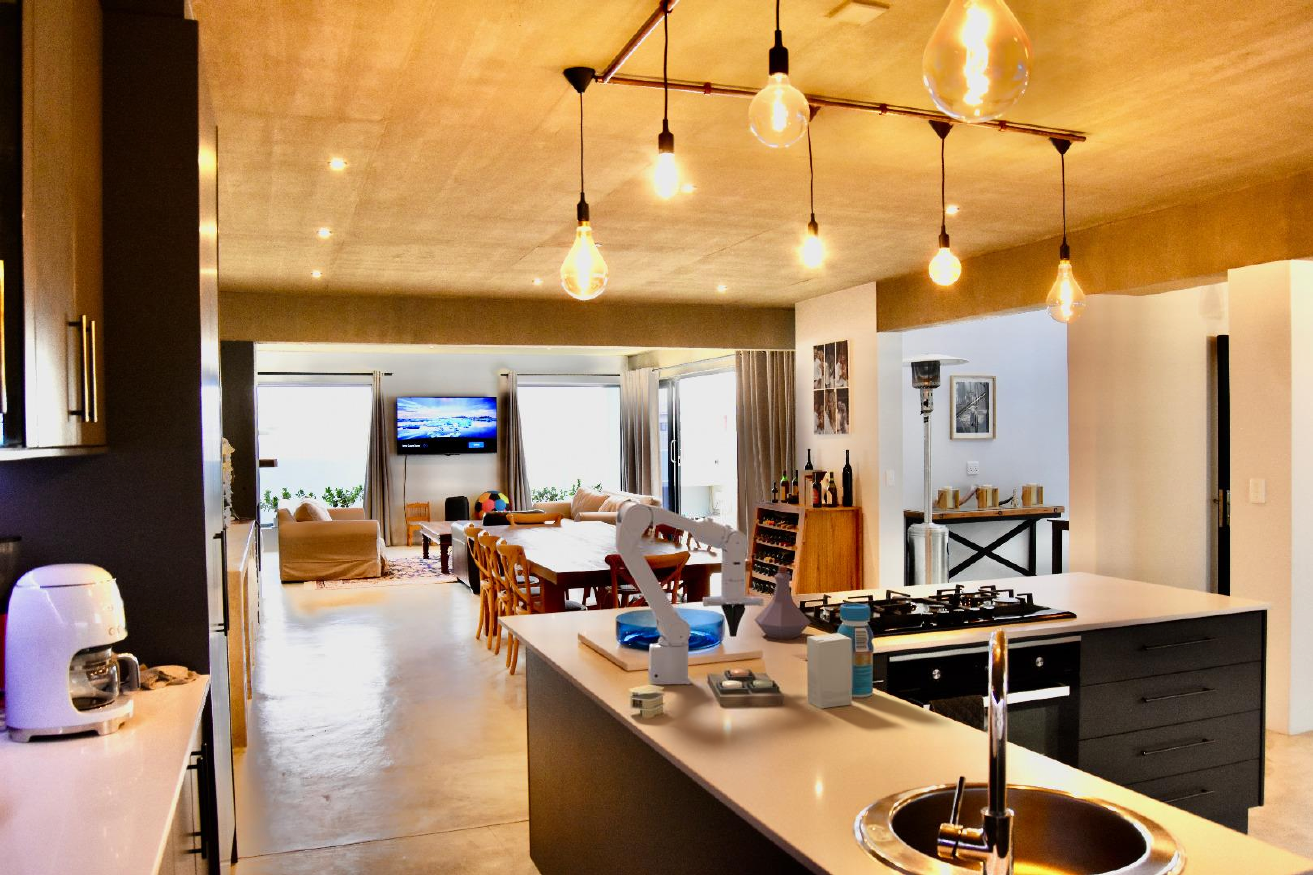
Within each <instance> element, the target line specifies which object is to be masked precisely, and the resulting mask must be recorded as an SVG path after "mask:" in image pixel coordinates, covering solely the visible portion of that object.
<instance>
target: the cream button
mask: <svg viewBox="0 0 1313 875" xmlns="http://www.w3.org/2000/svg"><path fill="white" fill-rule="evenodd" d="M732 688H742V682H739V681H724V682H722V689H732Z"/></svg>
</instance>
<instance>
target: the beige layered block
mask: <svg viewBox="0 0 1313 875" xmlns="http://www.w3.org/2000/svg"><path fill="white" fill-rule="evenodd" d="M663 689H665V687H664V686H661V685H660V686H659V685H656V684H655V685H653V684H646V685H642V686H641V685H640V686H636V687H635V686H634V687H631V688H628V690H629V692H632V694H629V695H628V698H629V699H630V704H628V707H629V709H630V710H638V711H639V714H641V717H642V718H647V719H649V718H654V717H655V716H656V715H658V714H661V713H663V712H664V706H665V705H666V703H665V702H664V696H665V695H666V693H665V692H664V693H663V692H660V691H662V690H663Z"/></svg>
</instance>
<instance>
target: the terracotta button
mask: <svg viewBox="0 0 1313 875" xmlns="http://www.w3.org/2000/svg"><path fill="white" fill-rule="evenodd" d="M730 670H731V671H730V676H749V671H748V670H749V669H745V668H735V669H733V668H732V669H730Z"/></svg>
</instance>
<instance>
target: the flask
mask: <svg viewBox="0 0 1313 875" xmlns="http://www.w3.org/2000/svg"><path fill="white" fill-rule="evenodd" d="M787 572H788V567H787V566H784V565H783V566H782V565H780V566H779V565H778V573H776V574H774V576H773V577H774V579H775V581H776V583H775V589H774V592H773V596H772V600H771V601H770V603H768V604H767V605H766V607H765V608H764V609H763V610H762V611H761V612H760V613H759V614H758V615H757V616H756V617H755V618H754V620H753V621H755V623H756V624H757V626H758V627H759V628H760V629H761V630H762V632H763V633H764V634H765V635H766V636H767V637H769V638H770V639H771V638H772V639H778V640H779V639H780V640H784V639H785V640H787V639H788V640H789V639H795V638H798V637H799V636H800V635H801V634H802V633H803V632H804V631H805V630H806V628H807V627H808V626H809V625H810V624H811V622H812V621H810V620H809V617H807V616H806V615H805V614H804V613H803V611H801V609H800V608H799V607H798V606H797V604H796V603H795V602H794V599H793V596H792V592H791V589H790V581H791V579H792V576H791V575H790V573H787Z"/></svg>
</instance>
